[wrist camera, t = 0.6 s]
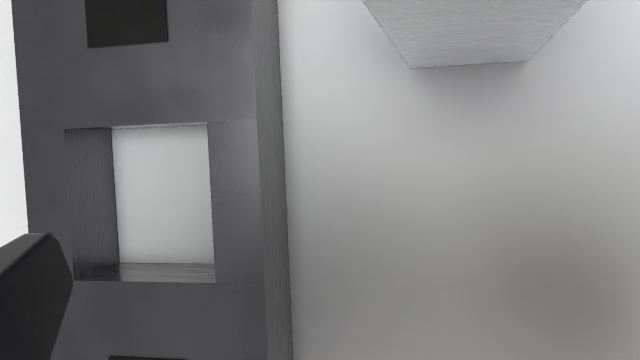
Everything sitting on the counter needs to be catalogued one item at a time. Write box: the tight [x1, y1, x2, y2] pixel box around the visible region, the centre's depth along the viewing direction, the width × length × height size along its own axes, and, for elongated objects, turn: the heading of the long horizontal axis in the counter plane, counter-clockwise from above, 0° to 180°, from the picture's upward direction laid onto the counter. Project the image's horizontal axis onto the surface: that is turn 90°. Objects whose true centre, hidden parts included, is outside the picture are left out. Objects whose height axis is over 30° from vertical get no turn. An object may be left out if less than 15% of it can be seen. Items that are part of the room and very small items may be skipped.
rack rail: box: [11, 0, 293, 360], centre depth 22 cm, size 20×9×3 cm, turn 2°
